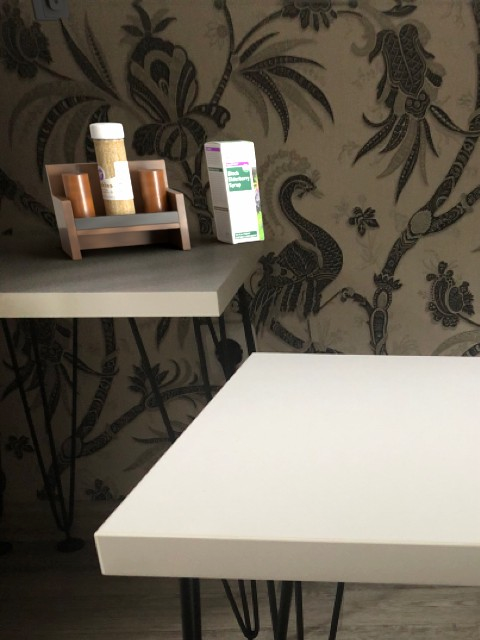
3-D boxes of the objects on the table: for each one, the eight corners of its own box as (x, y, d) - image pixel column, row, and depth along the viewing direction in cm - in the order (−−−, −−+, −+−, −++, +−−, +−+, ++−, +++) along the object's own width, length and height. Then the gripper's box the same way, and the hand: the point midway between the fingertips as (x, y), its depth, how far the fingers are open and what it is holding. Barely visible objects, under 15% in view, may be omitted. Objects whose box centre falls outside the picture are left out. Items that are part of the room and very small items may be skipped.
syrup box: (233, 244, 145) (221, 142, 138) (216, 240, 149) (203, 141, 142) (265, 240, 148) (254, 140, 141) (247, 236, 152) (236, 139, 145)
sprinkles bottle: (100, 223, 139) (82, 123, 132) (125, 219, 142) (108, 122, 135) (120, 225, 136) (102, 124, 130) (144, 221, 140) (128, 122, 133)
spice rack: (73, 260, 134) (55, 170, 128) (62, 250, 142) (45, 165, 136) (191, 249, 141) (178, 164, 135) (174, 240, 149) (162, 159, 143)
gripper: (-15, -127, 124) (16, 22, 133) (-3, -152, 111) (31, 16, 119) (43, -123, 127) (70, 22, 136) (63, -146, 114) (91, 17, 122)
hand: (52, 19), depth 127 cm, fingers open, 9 cm apart
